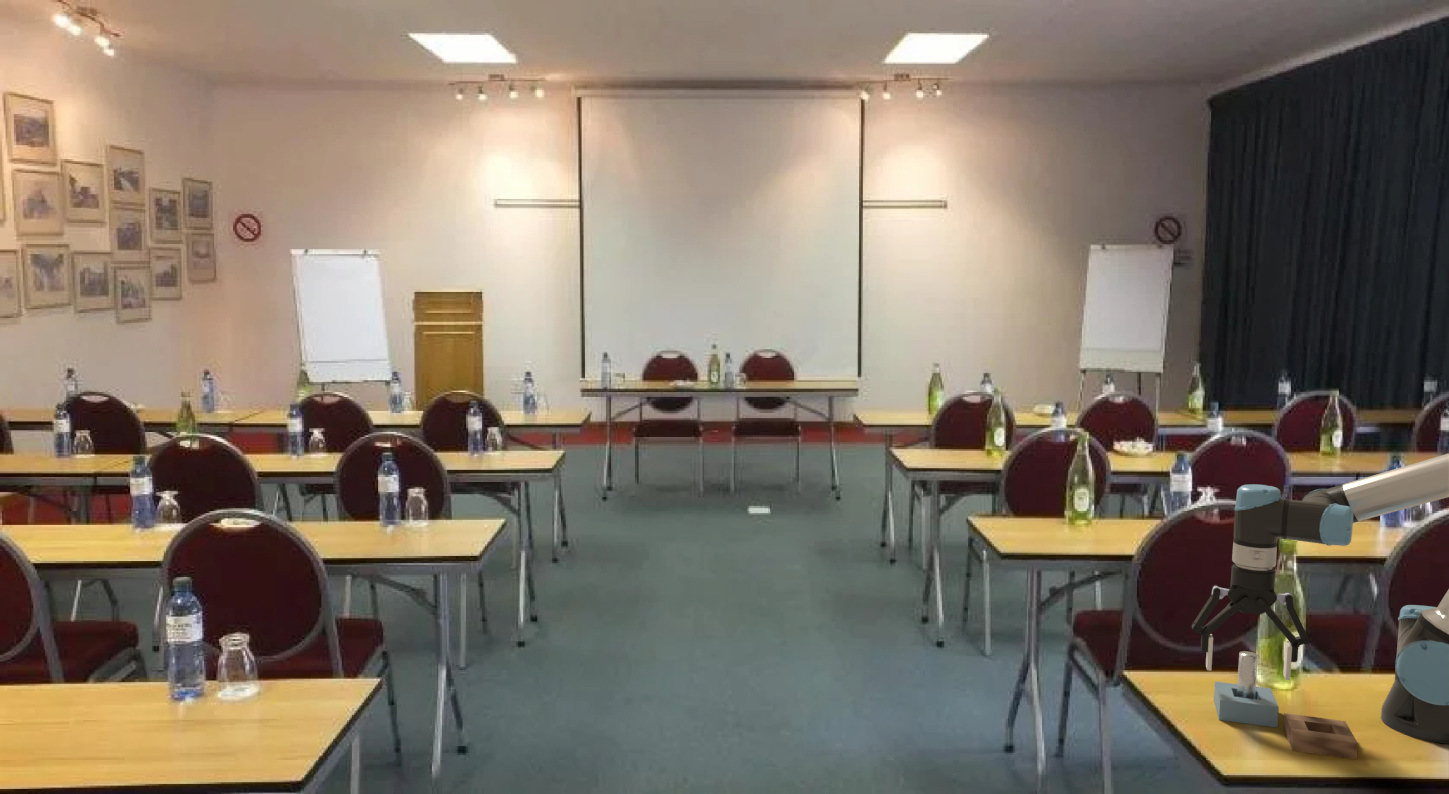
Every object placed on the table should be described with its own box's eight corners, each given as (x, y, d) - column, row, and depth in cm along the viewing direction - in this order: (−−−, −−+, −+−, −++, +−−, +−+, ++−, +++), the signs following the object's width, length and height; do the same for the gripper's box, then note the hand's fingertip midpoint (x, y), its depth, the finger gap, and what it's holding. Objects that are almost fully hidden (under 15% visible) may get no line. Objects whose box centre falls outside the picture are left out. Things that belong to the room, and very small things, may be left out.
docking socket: (1269, 708, 204) (1270, 688, 204) (1277, 727, 195) (1278, 707, 194) (1213, 700, 208) (1214, 681, 207) (1219, 719, 198) (1220, 699, 198)
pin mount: (1344, 736, 191) (1345, 721, 191) (1356, 759, 182) (1357, 743, 181) (1283, 728, 194) (1284, 713, 194) (1292, 750, 185) (1293, 734, 185)
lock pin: (1252, 712, 202) (1256, 652, 201) (1255, 718, 199) (1258, 658, 198) (1234, 709, 203) (1238, 650, 202) (1236, 715, 200) (1240, 655, 199)
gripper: (1184, 564, 199) (1178, 670, 201) (1331, 577, 190) (1324, 688, 193) (1181, 555, 206) (1175, 658, 208) (1323, 567, 197) (1316, 674, 200)
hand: (1247, 673), depth 200 cm, fingers open, 13 cm apart
